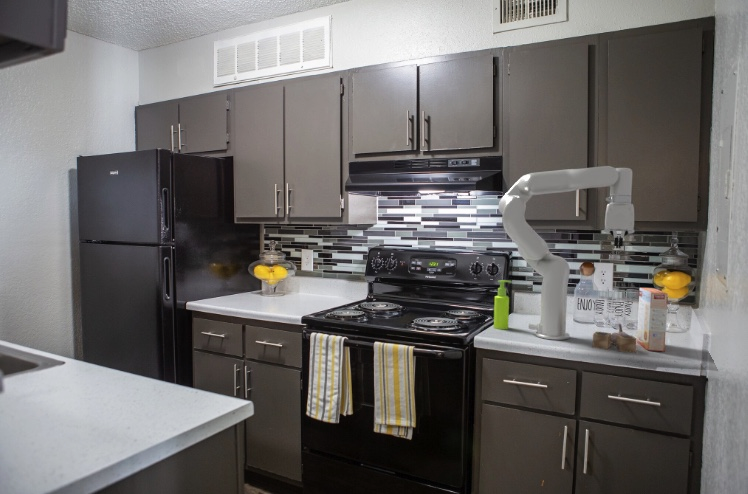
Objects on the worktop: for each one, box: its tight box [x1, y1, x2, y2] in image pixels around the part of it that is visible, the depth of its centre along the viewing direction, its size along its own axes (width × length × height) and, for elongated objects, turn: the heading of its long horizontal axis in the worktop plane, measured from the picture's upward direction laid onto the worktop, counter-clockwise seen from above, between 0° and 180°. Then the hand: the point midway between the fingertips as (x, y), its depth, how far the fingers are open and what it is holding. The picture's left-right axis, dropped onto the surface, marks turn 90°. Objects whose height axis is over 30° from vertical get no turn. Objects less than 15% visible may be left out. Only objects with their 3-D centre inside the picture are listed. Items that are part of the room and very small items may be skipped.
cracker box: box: [636, 287, 669, 352], centre depth 194 cm, size 14×6×21 cm, turn 168°
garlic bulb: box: [611, 322, 629, 346], centre depth 198 cm, size 8×7×8 cm
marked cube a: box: [616, 334, 637, 354], centre depth 189 cm, size 5×5×5 cm
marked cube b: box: [592, 331, 612, 350], centre depth 193 cm, size 5×5×5 cm
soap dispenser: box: [493, 279, 513, 330], centre depth 224 cm, size 6×7×20 cm
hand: (618, 247), depth 207 cm, fingers closed
